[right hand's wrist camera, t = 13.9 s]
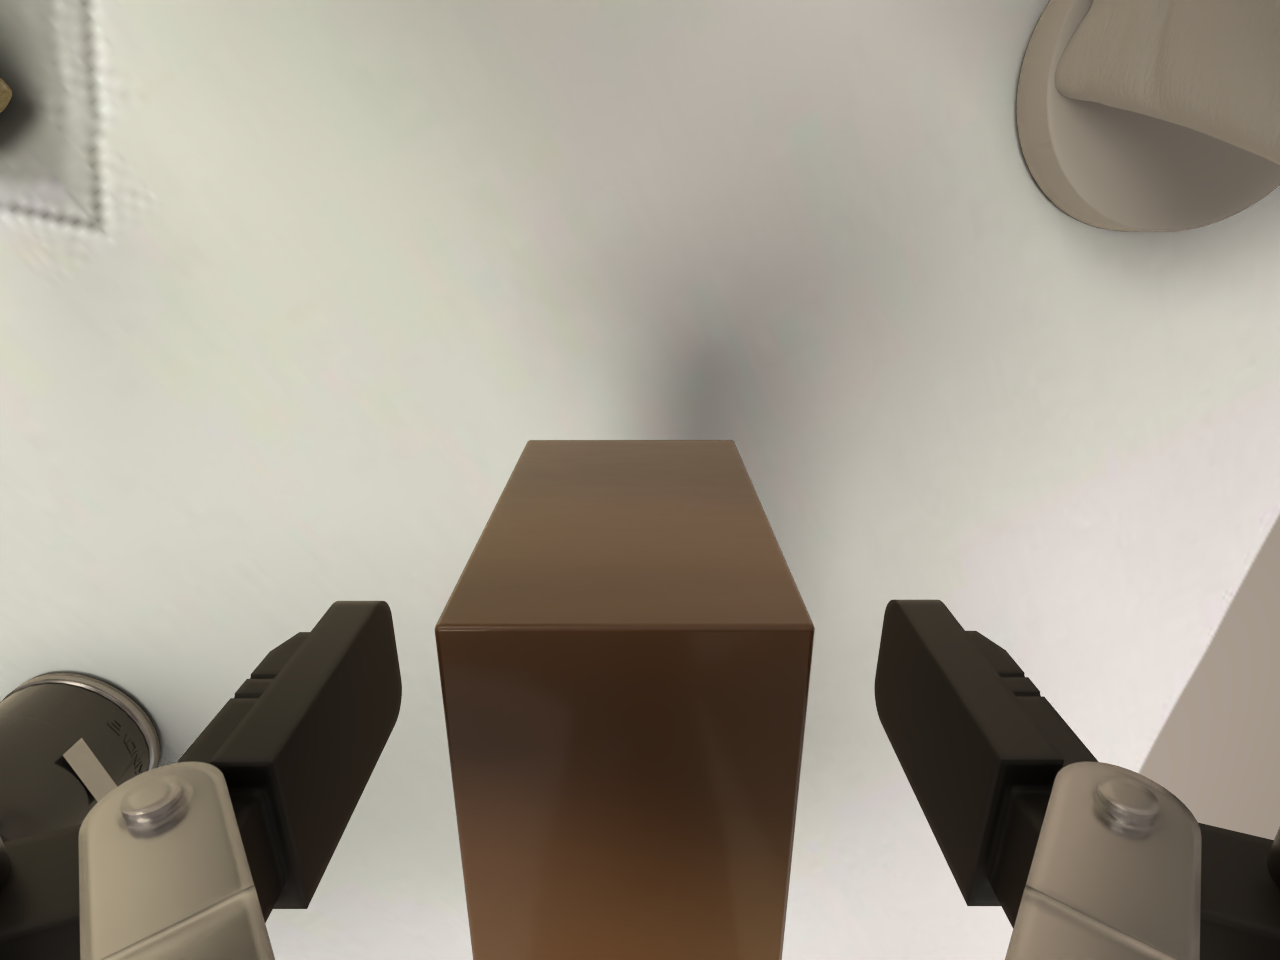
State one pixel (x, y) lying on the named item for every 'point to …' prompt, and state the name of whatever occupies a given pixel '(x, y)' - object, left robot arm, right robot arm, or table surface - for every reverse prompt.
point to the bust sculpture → (1153, 109)
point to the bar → (626, 708)
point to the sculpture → (4, 94)
